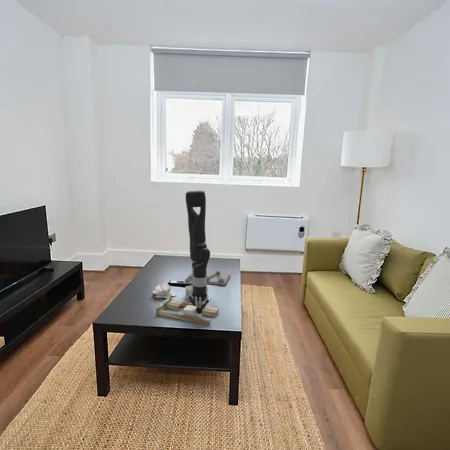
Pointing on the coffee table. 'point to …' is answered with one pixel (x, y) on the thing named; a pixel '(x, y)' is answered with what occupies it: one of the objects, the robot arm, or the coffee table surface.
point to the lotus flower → (163, 290)
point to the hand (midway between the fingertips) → (199, 313)
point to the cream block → (190, 310)
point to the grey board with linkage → (214, 278)
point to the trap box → (180, 306)
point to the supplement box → (191, 291)
